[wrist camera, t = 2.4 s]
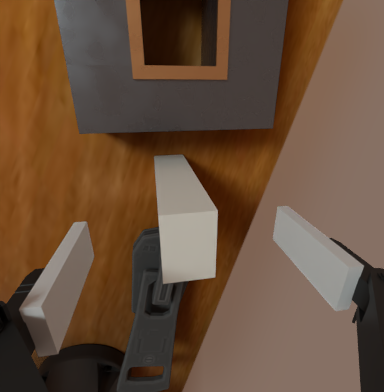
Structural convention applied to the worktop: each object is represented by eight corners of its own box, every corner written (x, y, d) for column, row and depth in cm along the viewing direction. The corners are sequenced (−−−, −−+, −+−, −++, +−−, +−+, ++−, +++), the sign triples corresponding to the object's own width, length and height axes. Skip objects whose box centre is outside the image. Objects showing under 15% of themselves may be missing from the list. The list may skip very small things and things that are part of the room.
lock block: (248, 123, 28) (274, 128, 22) (94, 126, 25) (78, 134, 20) (265, -80, 21) (308, -148, 15) (56, -105, 18) (15, -198, 13)
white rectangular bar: (183, 192, 30) (215, 277, 15) (156, 194, 30) (163, 283, 15) (182, 154, 28) (217, 210, 14) (154, 155, 28) (158, 215, 13)
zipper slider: (111, 396, 33) (133, 252, 25) (117, 351, 39) (136, 222, 31) (171, 392, 35) (211, 258, 27) (168, 350, 41) (200, 229, 33)
